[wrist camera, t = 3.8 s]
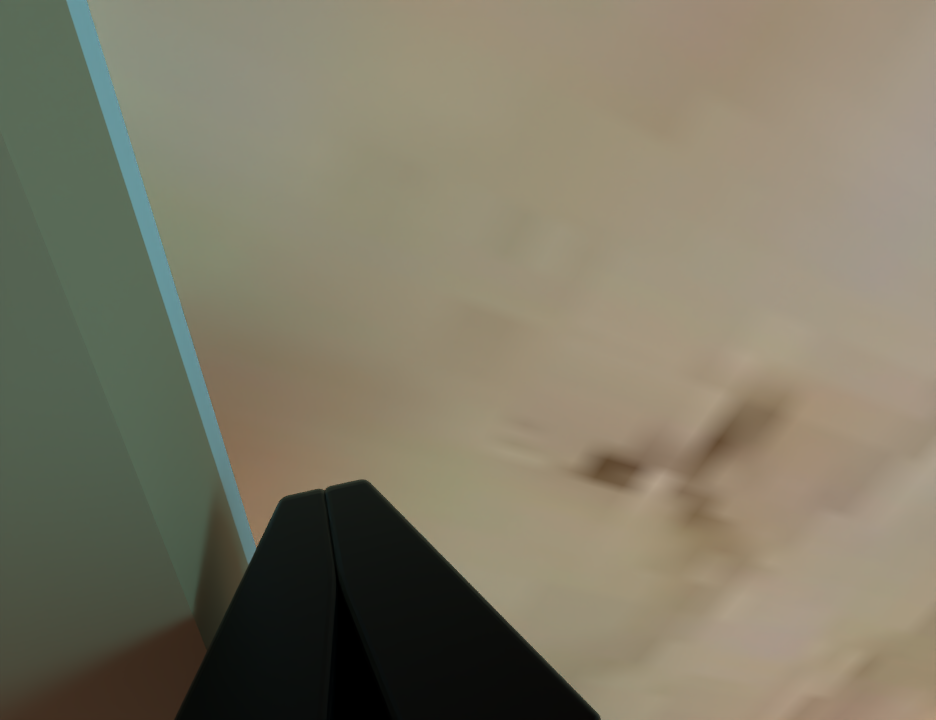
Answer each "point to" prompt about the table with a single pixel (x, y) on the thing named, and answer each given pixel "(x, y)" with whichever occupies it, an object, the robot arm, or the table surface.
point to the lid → (97, 406)
